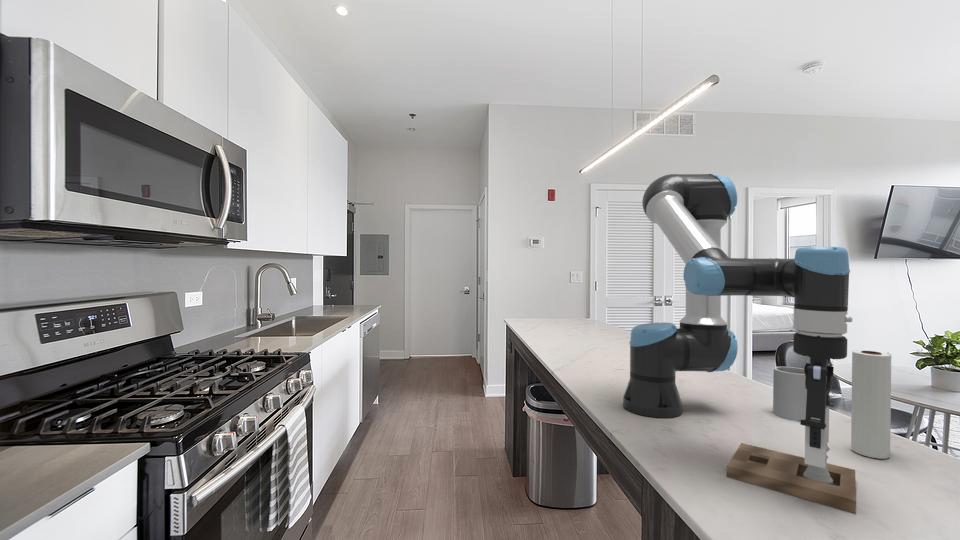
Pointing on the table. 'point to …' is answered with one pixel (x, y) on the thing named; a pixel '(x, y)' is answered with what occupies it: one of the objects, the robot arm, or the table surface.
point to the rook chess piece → (819, 472)
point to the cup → (789, 393)
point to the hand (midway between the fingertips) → (817, 452)
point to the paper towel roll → (871, 403)
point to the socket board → (792, 476)
